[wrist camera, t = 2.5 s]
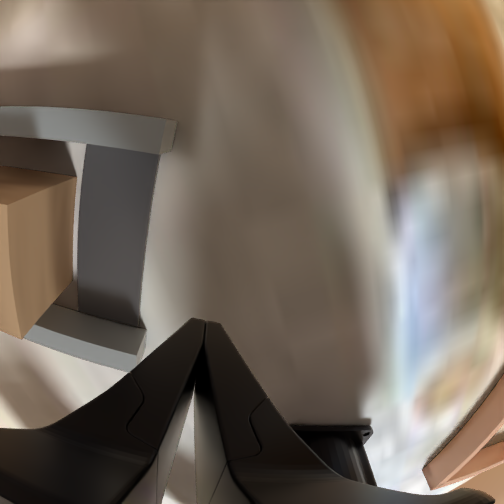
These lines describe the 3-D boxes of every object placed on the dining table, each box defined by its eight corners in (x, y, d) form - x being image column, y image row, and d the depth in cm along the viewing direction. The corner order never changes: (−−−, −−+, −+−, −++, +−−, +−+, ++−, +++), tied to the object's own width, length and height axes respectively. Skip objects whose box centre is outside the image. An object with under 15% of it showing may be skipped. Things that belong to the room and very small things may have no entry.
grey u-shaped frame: (177, 120, 11) (166, 119, 9) (145, 347, 15) (135, 374, 13) (-49, 108, 9) (-73, 111, 7) (-44, 282, 13) (-62, 297, 11)
